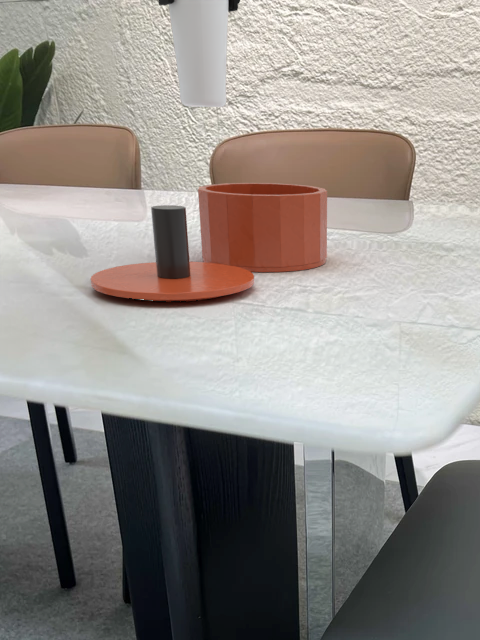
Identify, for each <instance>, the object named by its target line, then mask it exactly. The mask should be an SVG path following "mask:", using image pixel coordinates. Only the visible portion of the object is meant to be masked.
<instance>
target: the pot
mask: <svg viewBox="0 0 480 640" xmlns="http://www.w3.org/2000/svg"><path fill="white" fill-rule="evenodd" d="M197 195H198V197H197V198H198V210H199V226H200V228H199V229H200V240H201V241H200V242H201V257H202V262H206V263H217V264H225V265H231V266H236V267H240V268H243V269H246V270H248V271H250V272H251V273H284V272H285V273H286V272H297V271H304V270H311V269H315V268H318V267H319V268H320V267H321V266H323V265H325V264H326V262H327V261H326V260H327V258H328V190H326V188H324V187H320V186H319V187H318V186H314V185H303V184H295V183H277V182H275V183H274V182H231V183H230V182H226V183H218V184H217V183H216V184H215V183H213V184H206V185H201V186H198V188H197Z"/></svg>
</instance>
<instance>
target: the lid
mask: <svg viewBox="0 0 480 640" xmlns="http://www.w3.org/2000/svg"><path fill="white" fill-rule="evenodd" d="M150 210H151V212H150V213H151V222H152V224H151V225H152V235H153V243H154V244H153V245H154V254H155V256H154V257H155V261H154V262H152V261H151V262H140V263H131V264H123V265H117V266H113V267H109V268H106V269H102V270H100V271H98V272H97V271H96V272H95V273H93V275H91V277H90V284H91V288H92V289H93V290H94V291H97V292H98V293H100V294H105V295H107V296H112V297H117V298H124V299H129V298H132V299H131V300H134V299H144V300H153V301H166V302H165V303H172V302H171V301H180V302H179V303H182V302H181V301H186V302H196V300H198V301H204V300H211V299H216V298H220V297H223V296H229V295H233V294H236V293H240V292H243V291H246V290H249V289H250V288H252V287H253V285H254V284H255V275H254V272H250V271H248V270H246V269H243V268H240V267H236V266H231V265H225V264H217V263H206V262H203V261H190V247H189V236H188V222H187V221H188V219H187V207H185V206H183V205H174V204H173V205H172V204H171V205H170V204H163V205H162V204H161V205H153V206H151V207H150ZM153 301H152V302H153Z"/></svg>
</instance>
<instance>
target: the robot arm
mask: <svg viewBox="0 0 480 640" xmlns="http://www.w3.org/2000/svg"><path fill="white" fill-rule="evenodd" d="M157 1H158V2H157V3H158V5H159V6H169V5H168V4H172V3H173V2H174V0H157ZM240 3H241V0H229V10H228V13H232V12H237V11H238V9H239V4H240Z"/></svg>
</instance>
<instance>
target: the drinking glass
mask: <svg viewBox="0 0 480 640" xmlns="http://www.w3.org/2000/svg"><path fill="white" fill-rule="evenodd" d="M167 6H168V12H169V13H168V14H169V19H170V27H171V33H172V40H173V47H174V55H175V62H176V63H175V64H176V69H177V78H178V86H179V87H178V88H179V100H180V103H181V104H182V105H183V106H185V107H198V108H199V107H200V108H224V107H225V106H226V104H227V67H228V66H227V65H228V63H227V62H228V61H227V60H228V33H229V32H228V31H229V12H228V10H229V0H174V2H173V3H172V4H168V5H167Z"/></svg>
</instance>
